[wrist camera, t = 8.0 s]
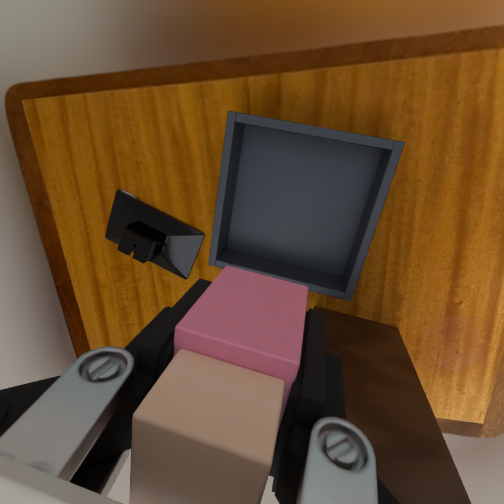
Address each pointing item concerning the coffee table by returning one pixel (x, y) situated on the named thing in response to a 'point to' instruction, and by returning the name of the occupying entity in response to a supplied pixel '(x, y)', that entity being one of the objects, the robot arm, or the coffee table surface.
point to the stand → (392, 411)
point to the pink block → (220, 395)
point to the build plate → (152, 235)
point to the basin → (300, 201)
